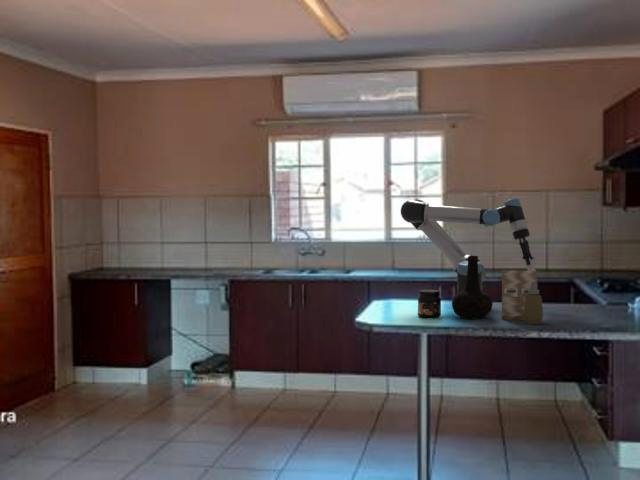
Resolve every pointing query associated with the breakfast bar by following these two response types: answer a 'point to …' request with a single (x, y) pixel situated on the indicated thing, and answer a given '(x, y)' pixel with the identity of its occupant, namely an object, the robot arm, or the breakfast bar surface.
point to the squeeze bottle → (533, 306)
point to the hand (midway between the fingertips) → (532, 272)
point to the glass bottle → (472, 295)
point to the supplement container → (429, 304)
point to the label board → (516, 292)
